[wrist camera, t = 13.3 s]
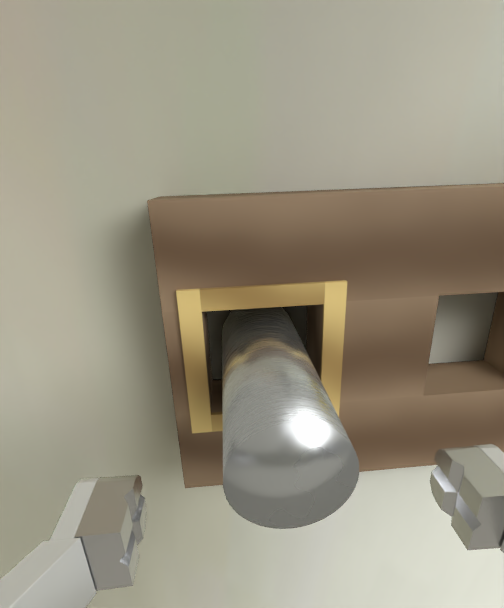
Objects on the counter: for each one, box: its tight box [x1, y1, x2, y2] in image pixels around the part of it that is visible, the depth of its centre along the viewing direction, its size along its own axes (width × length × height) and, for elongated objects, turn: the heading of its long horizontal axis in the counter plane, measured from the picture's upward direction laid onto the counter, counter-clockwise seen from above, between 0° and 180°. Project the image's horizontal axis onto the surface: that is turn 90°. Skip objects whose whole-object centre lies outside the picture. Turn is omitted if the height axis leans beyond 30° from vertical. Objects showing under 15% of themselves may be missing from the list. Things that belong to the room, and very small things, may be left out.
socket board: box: [147, 183, 504, 488], centre depth 18 cm, size 15×20×3 cm
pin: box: [222, 307, 359, 529], centre depth 15 cm, size 4×4×10 cm
